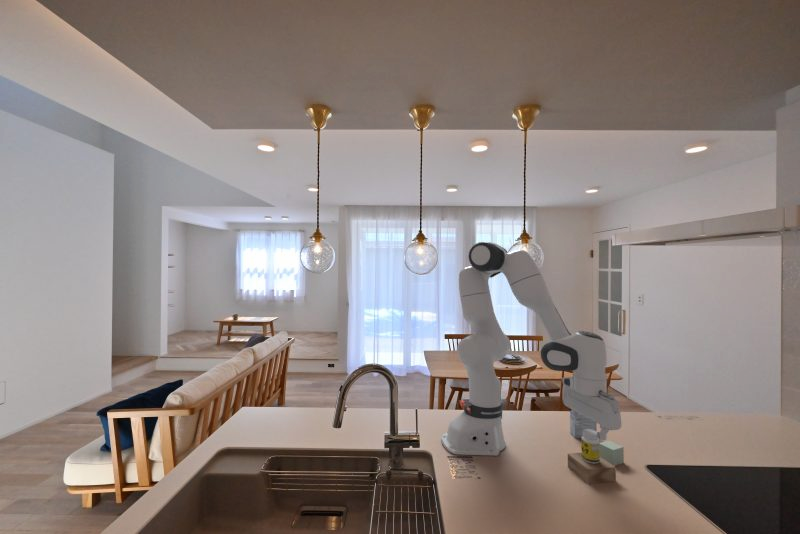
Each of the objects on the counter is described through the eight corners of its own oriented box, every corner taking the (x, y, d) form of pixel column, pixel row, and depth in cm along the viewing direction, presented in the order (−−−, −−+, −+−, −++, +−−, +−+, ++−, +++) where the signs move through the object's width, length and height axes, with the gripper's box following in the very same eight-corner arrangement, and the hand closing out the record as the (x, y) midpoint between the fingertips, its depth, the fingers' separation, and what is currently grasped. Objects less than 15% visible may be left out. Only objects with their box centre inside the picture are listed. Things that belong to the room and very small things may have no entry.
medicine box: (591, 434, 129) (591, 411, 129) (597, 439, 125) (596, 415, 125) (569, 432, 130) (569, 410, 130) (574, 438, 125) (574, 414, 126)
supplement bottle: (578, 455, 105) (578, 428, 105) (593, 455, 105) (592, 428, 105) (587, 464, 100) (587, 435, 100) (603, 464, 100) (602, 435, 100)
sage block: (613, 466, 107) (613, 450, 107) (598, 458, 111) (598, 443, 111) (623, 462, 109) (623, 447, 109) (608, 455, 113) (608, 440, 113)
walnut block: (588, 483, 97) (587, 469, 97) (567, 466, 106) (567, 453, 106) (615, 481, 98) (615, 467, 99) (593, 464, 107) (593, 451, 107)
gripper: (627, 397, 94) (627, 448, 93) (575, 376, 114) (575, 417, 113) (607, 398, 92) (607, 449, 92) (558, 376, 113) (558, 419, 112)
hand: (589, 432), depth 103 cm, fingers open, 8 cm apart
